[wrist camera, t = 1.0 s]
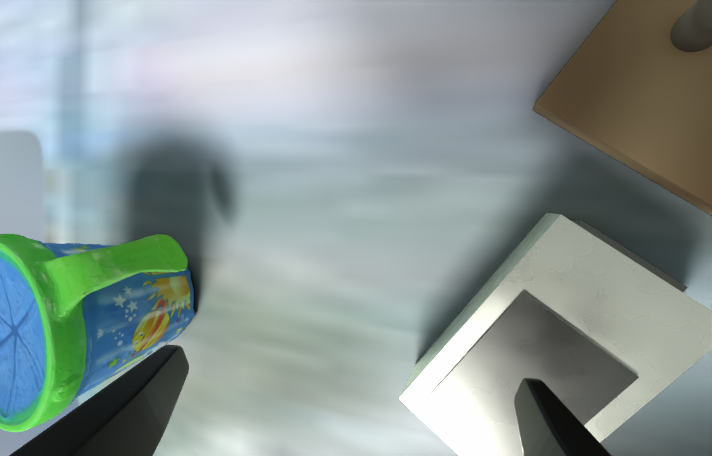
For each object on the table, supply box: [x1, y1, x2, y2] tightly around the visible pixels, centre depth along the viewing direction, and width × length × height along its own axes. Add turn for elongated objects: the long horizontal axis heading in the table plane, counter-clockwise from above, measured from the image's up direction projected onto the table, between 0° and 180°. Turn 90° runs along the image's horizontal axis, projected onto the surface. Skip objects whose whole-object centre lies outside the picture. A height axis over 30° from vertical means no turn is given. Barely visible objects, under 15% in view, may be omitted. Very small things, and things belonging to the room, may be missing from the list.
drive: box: [399, 213, 712, 456], centre depth 15 cm, size 6×11×4 cm, turn 144°
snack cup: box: [0, 234, 195, 432], centre depth 22 cm, size 16×10×10 cm
